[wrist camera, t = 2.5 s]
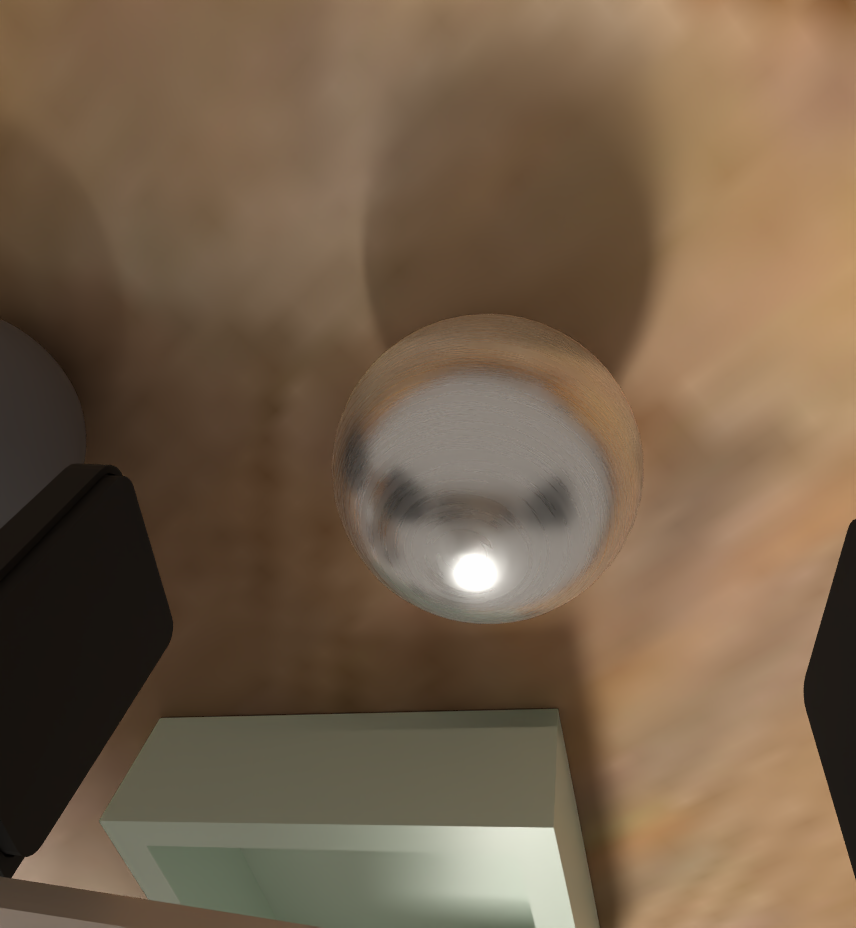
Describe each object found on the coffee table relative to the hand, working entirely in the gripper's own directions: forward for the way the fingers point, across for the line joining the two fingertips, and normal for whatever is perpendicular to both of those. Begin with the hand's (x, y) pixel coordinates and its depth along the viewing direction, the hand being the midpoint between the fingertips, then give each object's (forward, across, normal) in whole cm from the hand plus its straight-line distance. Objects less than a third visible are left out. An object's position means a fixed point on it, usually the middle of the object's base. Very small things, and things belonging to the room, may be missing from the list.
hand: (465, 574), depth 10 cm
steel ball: (+7, 0, +1) cm, 7 cm away
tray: (+6, +4, +17) cm, 18 cm away
